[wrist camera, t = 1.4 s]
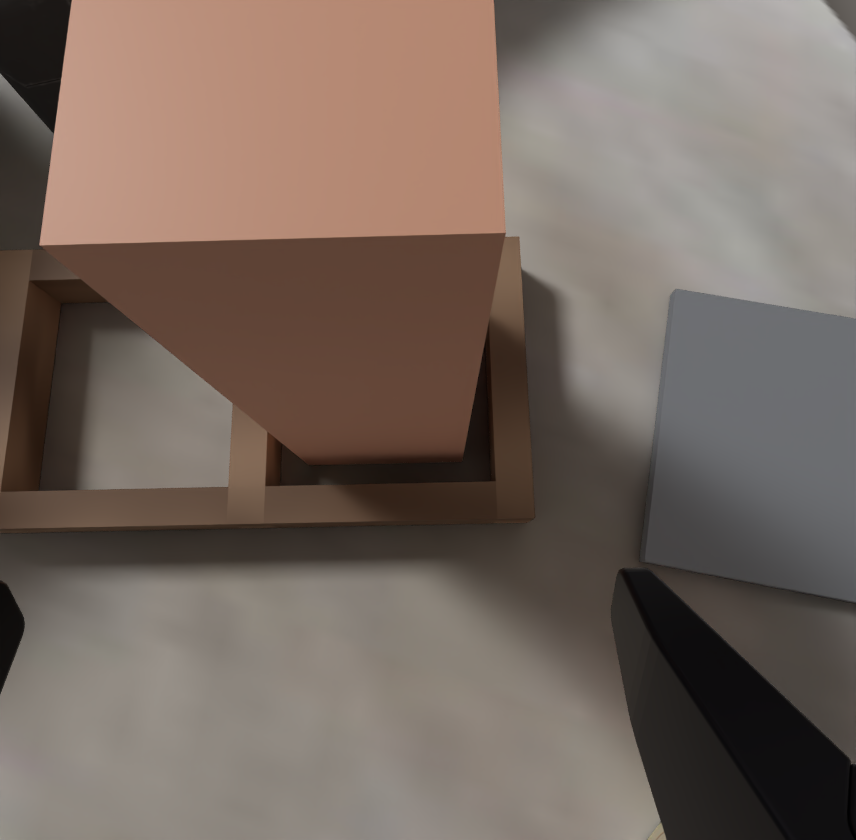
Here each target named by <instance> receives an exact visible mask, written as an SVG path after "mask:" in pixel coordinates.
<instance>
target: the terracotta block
mask: <svg viewBox="0 0 856 840" xmlns="http://www.w3.org/2000/svg"><path fill="white" fill-rule="evenodd" d="M505 234H506V230H505V210H504V191H503V171H502V152H501V132H500V113H499V93H498V74H497V54H496V35H495V15H494V0H72V3H71V10H70V18H69V25H68V33H67V40H66V48H65V56H64V63H63V71H62V78H61V86H60V93H59V101H58V108H57V116H56V123H55V131H54V139H53V146H52V154H51V161H50V169H49V176H48V184H47V191H46V199H45V207H44V214H43V222H42V229H41V237H40V244H39V245H40V246H41V247H42V248H43V249H44V250H46V251H47V252H48V253H49V254H51V255H52V256H53V257H54V258H55V259H57V260H58V261H59V262H60V263H62V264H63V265H64V266H65V267H67V268H68V269H69V270H70V271H71V272H73V273H74V274H75V275H76V276H78V277H79V278H80V279H81V280H82V281H84V282H85V283H86V284H87V285H89V286H90V287H91V288H92V289H93V290H95V291H96V292H97V293H98V294H100V295H101V296H102V297H103V298H105V299H106V300H107V301H108V302H109V303H111V304H112V305H113V306H114V307H116V308H117V309H118V310H119V311H120V312H122V313H123V314H124V315H125V316H127V317H128V318H129V319H130V320H131V321H133V322H134V323H135V324H136V325H138V326H139V327H140V328H141V329H142V330H144V331H145V332H146V333H147V334H149V335H150V336H151V337H152V338H154V339H155V340H156V341H157V342H158V343H160V344H161V345H162V346H163V347H165V348H166V349H167V350H168V351H169V352H171V353H172V354H173V355H174V356H176V357H177V358H178V359H179V360H180V361H182V362H183V363H184V364H185V365H187V366H188V367H189V368H190V369H191V370H193V371H194V372H195V373H196V374H198V375H199V376H200V377H201V378H203V379H204V380H205V381H206V382H207V383H209V384H210V385H211V386H212V387H214V388H215V389H216V390H217V391H218V392H220V393H221V394H222V395H223V396H225V397H226V398H227V399H228V400H229V401H231V402H232V403H233V404H234V405H236V406H237V407H238V408H239V409H241V410H242V411H243V412H244V413H245V414H247V415H248V416H249V417H250V418H252V419H253V420H254V421H255V422H256V423H258V424H259V425H260V426H261V427H263V428H264V429H265V430H266V431H267V432H269V433H270V434H271V435H272V436H274V437H275V438H276V439H277V440H278V441H280V442H281V443H282V444H283V445H285V446H286V447H287V448H288V449H290V450H291V451H292V452H293V453H294V454H296V455H297V456H298V457H299V458H301V459H302V460H303V461H304V462H305V463H307V464H308V465H346V464H392V463H438V462H462V459H463V454H464V449H465V444H466V438H467V433H468V428H469V423H470V417H471V412H472V407H473V402H474V396H475V391H476V386H477V381H478V375H479V370H480V365H481V360H482V354H483V349H484V344H485V339H486V333H487V328H488V323H489V318H490V312H491V307H492V302H493V297H494V291H495V286H496V281H497V276H498V270H499V265H500V260H501V255H502V249H503V244H504V239H505Z"/></svg>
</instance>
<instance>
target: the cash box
mask: <svg viewBox="0 0 856 840" xmlns="http://www.w3.org/2000/svg"><path fill="white" fill-rule="evenodd" d="M71 3H72V0H0V73H1V74H2V76H3V77H4V78H5V79H6V80H7V81H8V82H9V84H10V85H11V86H12V87H13V88H14V89H15V90H16V91H17V93H18V94H19V95H20V96H21V97H22V98H23V99H24V101H25V102H26V103H27V104H28V105H29V106H30V107H31V109H32V110H33V111H34V112H35V113H36V114H37V115H38V116H39V118H40V119H41V120H42V121H43V122H44V123H45V124H46V126H47V127H48V128H49V129H50V130H51V131H52V132H53V133H54V131H55V123H56V116H57V108H58V101H59V93H60V86H61V78H62V71H63V63H64V56H65V48H66V40H67V33H68V25H69V18H70V10H71Z"/></svg>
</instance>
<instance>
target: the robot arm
mask: <svg viewBox="0 0 856 840" xmlns="http://www.w3.org/2000/svg"><path fill="white" fill-rule="evenodd" d="M611 621H612V627H613V632H614V637H615V643H616V648H617V653H618V659H619V664H620V669H621V674H622V680H623V685H624V690H625V695H626V701H627V706H628V711H629V716H630V720H631V725H632V728H633V732H634V736H635V739H636V743H637V746H638V749H639V752H640V756H641V759H642V762H643V765H644V769H645V772H646V775H647V778H648V782H649V785H650V788H651V791H652V794H653V798H654V801H655V804H656V807H657V811H658V814H659V817H660V820H661V824H662V827H663V830H664V833H665V837H666V840H856V764H852V765H851V761H850V758H849V757H848V756H847V755H845V754H844V753H843V752H842V751H841V750H840V749H839V748H838V747H837V746H836V745H835V744H834V743H833V742H832V741H831V740H830V739H829V738H828V737H826V736H825V735H824V734H823V733H822V732H821V731H820V730H819V729H818V728H817V727H816V726H815V725H814V724H813V723H812V722H811V721H810V720H808V719H807V718H806V717H805V716H804V715H803V714H802V713H801V712H800V711H799V710H798V709H797V708H796V707H795V706H794V705H793V704H792V703H791V702H789V701H788V700H787V699H786V698H785V697H784V696H783V695H782V694H781V693H780V692H779V691H778V690H777V689H776V688H775V687H774V686H773V685H772V684H770V683H769V682H768V681H767V680H766V679H765V678H764V677H763V676H762V675H761V674H760V673H759V672H758V671H757V670H756V669H755V668H754V667H753V666H751V665H750V664H749V663H748V662H747V661H746V660H745V659H744V658H743V657H742V656H741V655H740V654H739V653H738V652H737V651H736V650H735V649H733V648H732V647H731V646H730V645H729V644H728V643H727V642H726V641H725V640H724V639H723V638H722V637H721V636H720V635H719V634H718V633H717V632H716V631H714V630H713V629H712V628H711V627H710V626H709V625H708V624H707V623H706V622H705V621H704V620H703V619H702V618H701V617H700V616H699V615H698V614H697V613H695V612H694V611H693V610H692V609H691V608H690V607H689V606H688V605H687V604H686V603H685V602H684V601H683V600H682V599H681V598H680V597H679V596H677V595H676V594H675V593H674V592H673V591H672V590H671V589H670V588H669V587H668V586H667V585H666V584H665V583H664V582H663V581H662V580H661V579H660V578H658V577H657V576H656V575H655V574H654V573H653V572H652V571H651V570H649V569H647V568H622V569H620V570H619V572H618V574H617V577H616V583H615V588H614V594H613V600H612V605H611ZM24 627H25V622H24V617H23V614H22V612H21V611H20V609H19V607H18V605H17V603H16V601H15V599H14V597H13V595H12V593H11V591H10V589H9V587H8V586H7V584H6V583H4V582H3V581H1V580H0V694H1V691H2V688H3V686H4V683H5V681H6V678H7V675H8V673H9V670H10V667H11V665H12V662H13V660H14V657H15V654H16V652H17V649H18V647H19V644H20V641H21V639H22V636H23V633H24Z"/></svg>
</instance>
